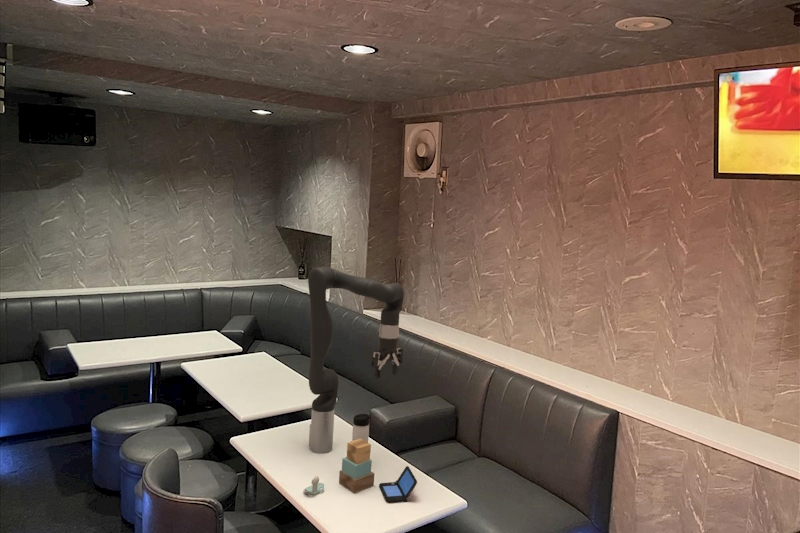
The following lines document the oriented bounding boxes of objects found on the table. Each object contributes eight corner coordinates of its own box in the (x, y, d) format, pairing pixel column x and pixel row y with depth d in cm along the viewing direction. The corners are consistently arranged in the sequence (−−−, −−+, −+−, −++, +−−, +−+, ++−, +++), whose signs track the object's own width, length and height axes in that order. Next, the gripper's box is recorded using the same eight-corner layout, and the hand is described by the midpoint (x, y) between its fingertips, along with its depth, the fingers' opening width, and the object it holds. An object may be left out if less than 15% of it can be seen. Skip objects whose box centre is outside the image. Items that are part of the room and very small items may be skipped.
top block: (341, 471, 203) (342, 458, 203) (357, 465, 209) (357, 452, 208) (355, 479, 198) (356, 466, 198) (370, 473, 204) (371, 459, 203)
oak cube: (346, 458, 203) (347, 442, 202) (359, 453, 207) (360, 438, 207) (356, 464, 199) (357, 448, 198) (369, 460, 203) (370, 444, 202)
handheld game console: (378, 486, 205) (379, 466, 204) (406, 484, 207) (407, 464, 207) (386, 504, 193) (387, 483, 192) (416, 501, 195) (417, 481, 195)
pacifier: (299, 492, 197) (310, 498, 193) (299, 475, 196) (310, 481, 192) (315, 485, 202) (326, 491, 198) (315, 469, 202) (326, 474, 198)
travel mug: (365, 469, 216) (368, 419, 214) (348, 466, 218) (351, 417, 215) (369, 462, 222) (372, 413, 220) (353, 459, 224) (356, 411, 221)
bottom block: (338, 483, 204) (339, 470, 204) (358, 476, 211) (358, 464, 210) (354, 494, 198) (355, 480, 197) (373, 486, 204) (374, 473, 204)
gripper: (395, 331, 221) (393, 371, 223) (368, 335, 212) (365, 377, 213) (409, 335, 216) (406, 376, 218) (381, 339, 206) (378, 382, 208)
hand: (386, 376), depth 216 cm, fingers open, 8 cm apart
